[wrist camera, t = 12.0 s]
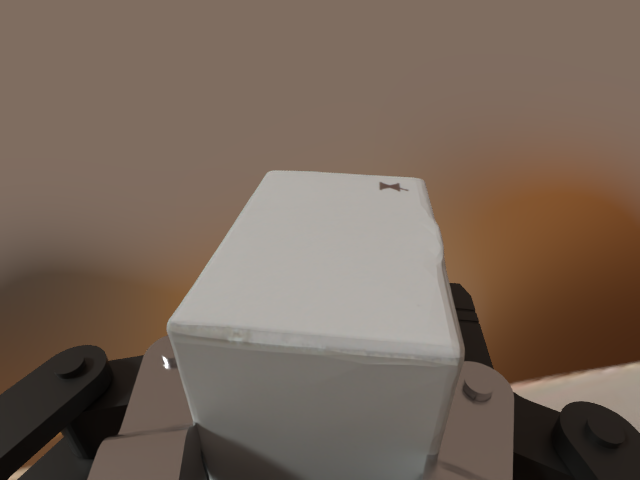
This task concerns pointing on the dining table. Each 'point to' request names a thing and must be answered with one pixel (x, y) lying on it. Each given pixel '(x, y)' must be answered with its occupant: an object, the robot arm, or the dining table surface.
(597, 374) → the dining table surface
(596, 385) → the dining table surface
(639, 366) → the dining table surface
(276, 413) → the skincare box
